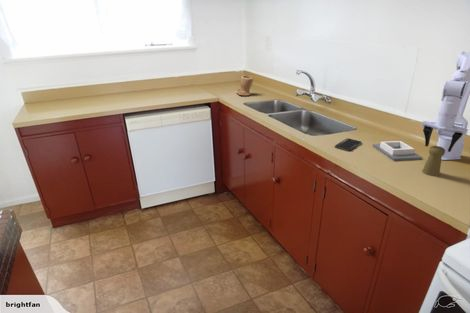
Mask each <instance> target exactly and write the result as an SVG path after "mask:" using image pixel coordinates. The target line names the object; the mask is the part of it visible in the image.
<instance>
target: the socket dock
mask: <svg viewBox="0 0 470 313" xmlns="http://www.w3.org/2000/svg"><path fill="white" fill-rule="evenodd" d="M372 147H373V148H374V149H376V150H378V151H379V152H380V153H381V154H383V155H385V156H386V157H387V158H389V159H390V160H392V161H393V162H394V161H395V162H397V161H413V160H414V161H415V160H421V159H422V156H421V155H419V154H417V153H415V148H414V147H412V146H411V145H409V144H406V143H405V142H403V141H401V140H392V141H390V140H389V141H380V143H373V144H372Z"/></svg>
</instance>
